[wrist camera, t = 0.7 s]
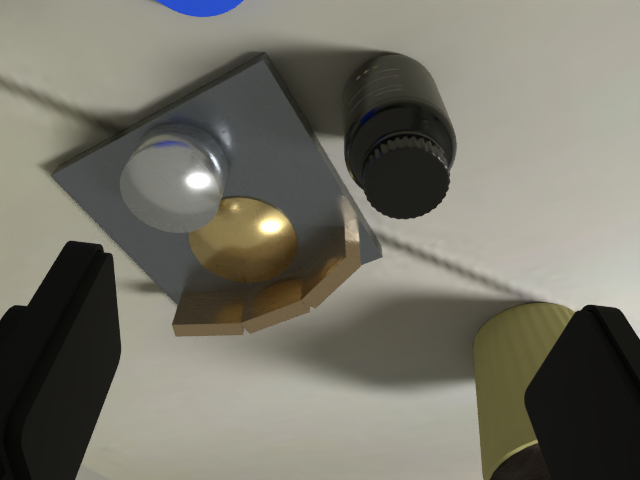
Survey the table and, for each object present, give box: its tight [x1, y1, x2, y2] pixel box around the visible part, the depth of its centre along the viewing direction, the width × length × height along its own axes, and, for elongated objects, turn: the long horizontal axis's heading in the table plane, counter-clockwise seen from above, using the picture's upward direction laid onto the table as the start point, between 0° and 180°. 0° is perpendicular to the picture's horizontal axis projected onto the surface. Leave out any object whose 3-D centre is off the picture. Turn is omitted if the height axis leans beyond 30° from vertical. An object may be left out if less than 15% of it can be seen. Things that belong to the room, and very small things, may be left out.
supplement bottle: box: [343, 55, 457, 219], centre depth 34 cm, size 7×7×12 cm
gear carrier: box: [51, 52, 382, 336], centre depth 43 cm, size 20×20×6 cm
